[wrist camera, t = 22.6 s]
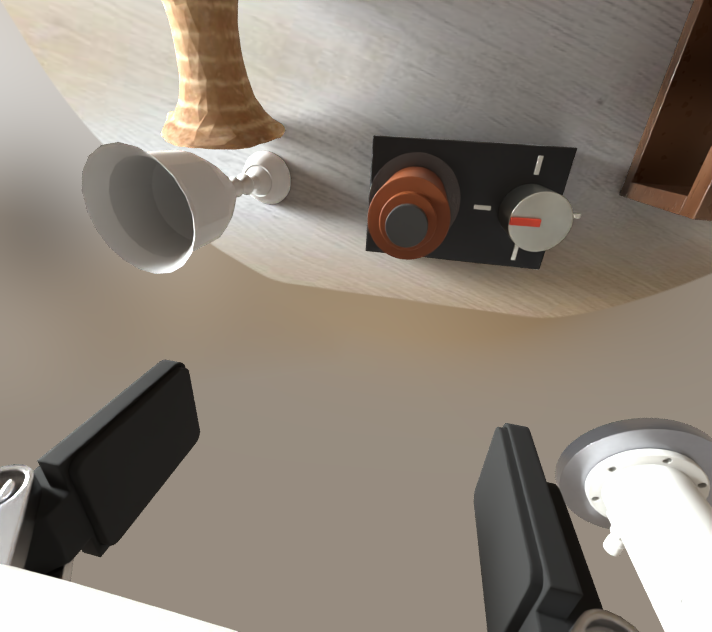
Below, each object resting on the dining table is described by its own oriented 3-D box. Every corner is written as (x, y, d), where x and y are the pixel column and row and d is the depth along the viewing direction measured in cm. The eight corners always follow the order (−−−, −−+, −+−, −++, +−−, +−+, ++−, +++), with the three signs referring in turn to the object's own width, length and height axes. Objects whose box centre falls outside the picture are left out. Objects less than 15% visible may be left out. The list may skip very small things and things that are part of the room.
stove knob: (561, 185, 29) (584, 194, 24) (546, 238, 31) (564, 255, 26) (504, 181, 29) (517, 189, 25) (493, 234, 31) (503, 250, 27)
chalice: (223, 151, 35) (57, 165, 20) (282, 127, 33) (150, 122, 18) (253, 222, 38) (129, 284, 23) (309, 204, 36) (216, 258, 20)
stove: (550, 261, 34) (561, 272, 32) (370, 242, 37) (365, 251, 34) (587, 148, 30) (603, 149, 27) (378, 135, 32) (373, 135, 29)
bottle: (440, 235, 32) (443, 273, 23) (379, 229, 33) (360, 264, 24) (451, 168, 29) (460, 183, 21) (384, 164, 30) (365, 176, 21)
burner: (451, 249, 33) (451, 250, 32) (366, 240, 34) (365, 241, 33) (469, 155, 29) (469, 155, 29) (372, 148, 30) (371, 148, 30)
